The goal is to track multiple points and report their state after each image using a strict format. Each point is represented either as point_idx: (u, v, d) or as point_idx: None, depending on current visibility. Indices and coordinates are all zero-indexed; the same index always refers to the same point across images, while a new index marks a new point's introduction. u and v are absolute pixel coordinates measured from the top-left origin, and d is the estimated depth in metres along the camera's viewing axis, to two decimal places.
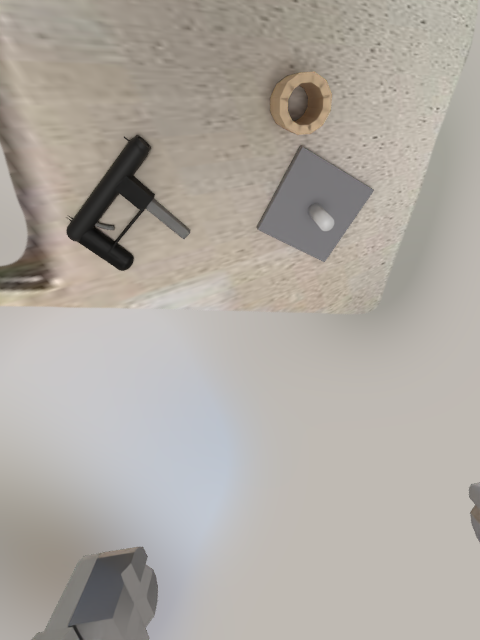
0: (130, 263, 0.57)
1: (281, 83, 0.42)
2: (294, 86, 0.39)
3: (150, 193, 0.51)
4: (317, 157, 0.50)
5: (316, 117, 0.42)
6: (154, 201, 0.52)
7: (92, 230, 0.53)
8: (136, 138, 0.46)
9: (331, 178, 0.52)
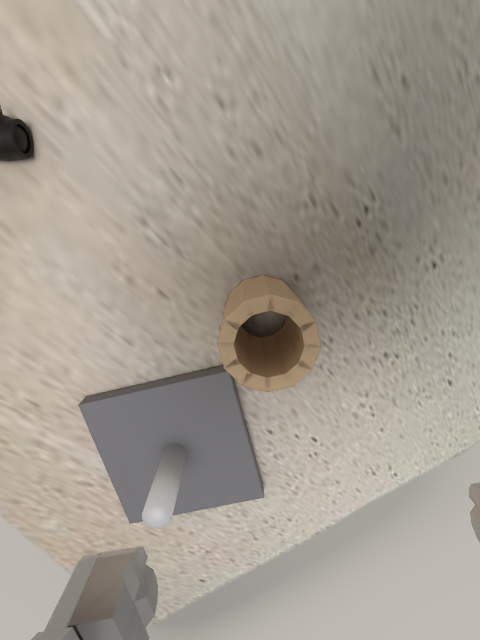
0: None
1: (266, 283, 0.24)
2: (275, 309, 0.20)
3: None
4: (234, 399, 0.29)
5: (268, 372, 0.22)
6: None
7: None
8: (10, 121, 0.23)
9: (228, 438, 0.30)
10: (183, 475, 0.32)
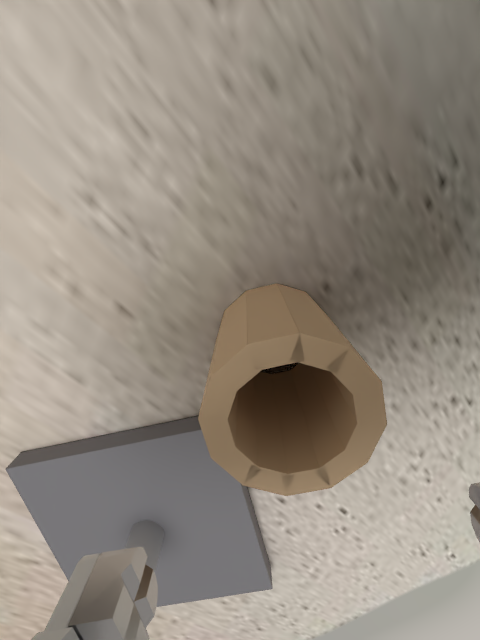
0: None
1: (284, 302, 0.14)
2: (306, 359, 0.11)
3: None
4: None
5: (289, 458, 0.13)
6: None
7: None
8: None
9: (223, 514, 0.21)
10: (160, 560, 0.23)
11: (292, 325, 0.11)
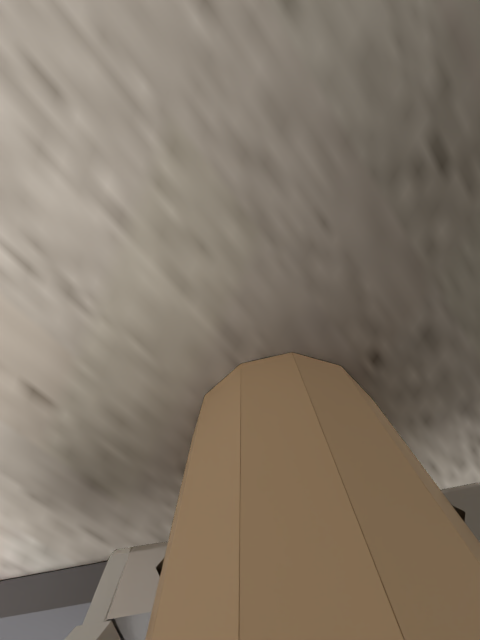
0: None
1: (319, 426, 0.07)
2: None
3: None
4: None
5: None
6: None
7: None
8: None
9: None
10: None
11: (371, 584, 0.04)
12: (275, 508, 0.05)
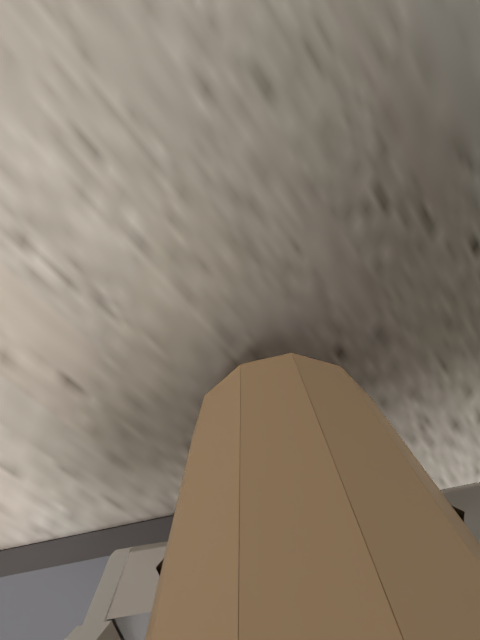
0: None
1: (319, 427, 0.07)
2: None
3: None
4: None
5: None
6: None
7: None
8: None
9: None
10: None
11: (371, 586, 0.04)
12: (275, 509, 0.05)
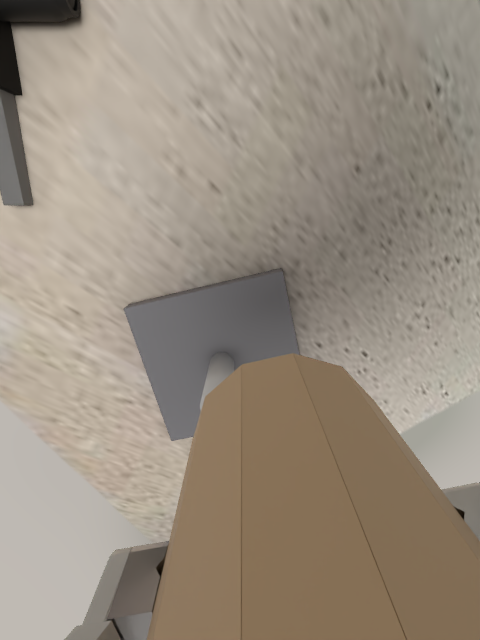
0: None
1: (321, 428, 0.07)
2: None
3: (7, 78, 0.23)
4: (286, 303, 0.28)
5: None
6: (6, 99, 0.24)
7: None
8: None
9: (278, 347, 0.29)
10: None
11: (376, 590, 0.04)
12: (277, 512, 0.05)
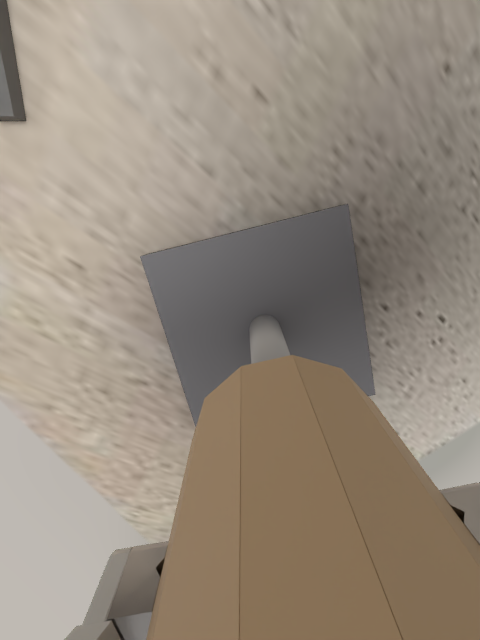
0: None
1: (320, 431, 0.07)
2: None
3: None
4: (351, 248, 0.22)
5: None
6: None
7: None
8: None
9: (337, 307, 0.23)
10: None
11: (374, 595, 0.04)
12: (276, 515, 0.05)
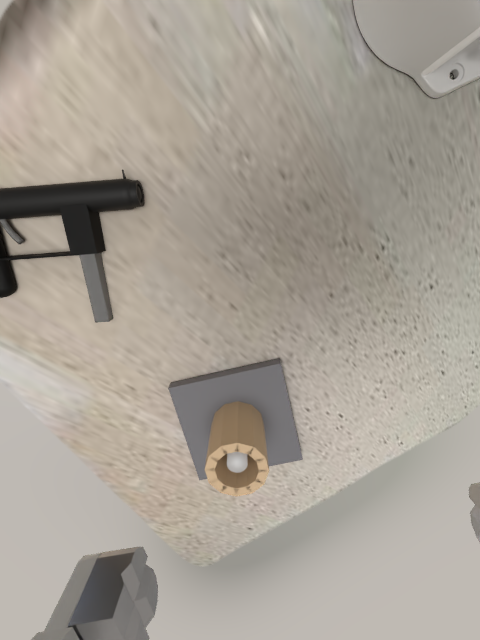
0: (2, 294, 0.37)
1: (237, 420, 0.36)
2: (240, 450, 0.33)
3: (99, 246, 0.35)
4: (283, 384, 0.40)
5: (237, 482, 0.35)
6: (97, 257, 0.36)
7: None
8: (134, 183, 0.33)
9: (278, 413, 0.41)
10: None
11: (236, 437, 0.33)
12: (227, 432, 0.35)
